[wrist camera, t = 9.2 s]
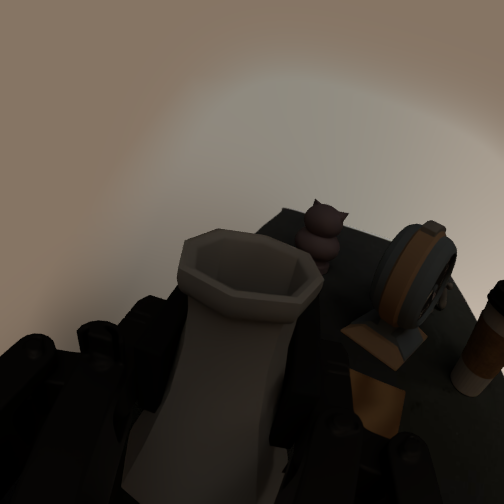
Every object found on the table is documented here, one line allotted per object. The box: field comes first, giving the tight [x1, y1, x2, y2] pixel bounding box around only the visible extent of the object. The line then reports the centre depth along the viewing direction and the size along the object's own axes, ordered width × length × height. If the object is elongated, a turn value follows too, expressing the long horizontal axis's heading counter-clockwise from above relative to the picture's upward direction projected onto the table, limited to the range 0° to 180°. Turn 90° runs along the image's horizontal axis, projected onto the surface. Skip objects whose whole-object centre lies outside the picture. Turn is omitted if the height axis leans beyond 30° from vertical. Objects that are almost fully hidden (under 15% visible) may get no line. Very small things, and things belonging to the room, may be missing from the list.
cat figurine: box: [295, 199, 348, 275], centre depth 56 cm, size 9×8×12 cm
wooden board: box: [350, 369, 405, 439], centre depth 29 cm, size 12×10×1 cm
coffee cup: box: [450, 280, 504, 397], centre depth 31 cm, size 8×8×15 cm
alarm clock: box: [340, 220, 457, 371], centre depth 38 cm, size 14×10×18 cm
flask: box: [121, 229, 324, 504], centre depth 9 cm, size 7×7×10 cm
